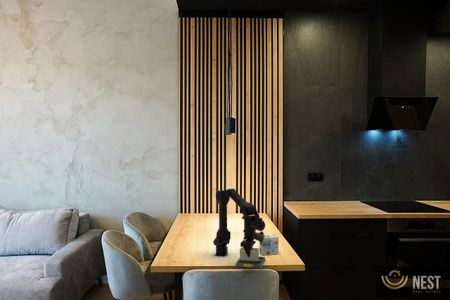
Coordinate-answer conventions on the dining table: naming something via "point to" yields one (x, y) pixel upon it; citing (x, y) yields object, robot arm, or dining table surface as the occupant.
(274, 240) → the light bulb box
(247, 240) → the robot arm
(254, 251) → the panel
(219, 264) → the dining table surface
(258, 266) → the grey shallow square tray
